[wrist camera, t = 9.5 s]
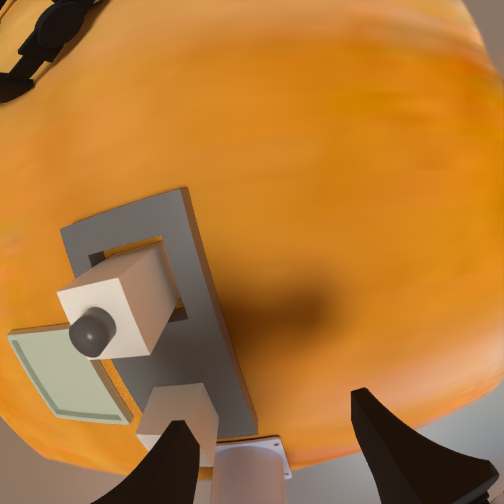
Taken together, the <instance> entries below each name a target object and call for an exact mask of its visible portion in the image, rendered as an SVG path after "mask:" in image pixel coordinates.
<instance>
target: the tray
mask: <svg viewBox="0 0 504 504" xmlns="http://www.w3.org/2000/svg"><path fill="white" fill-rule="evenodd" d="M70 326H71V325H70V323H67V324H59V325H52V326H44V327H36V328H28V329H20V330H12V331H11V332H10V333H8V334H7V335H6V337H7V339H8V341H9V343H10V345H11V347H12V348H13V350H14V352H15V354H16V356H17V358H18V360H19V361H20V363H21V365H22V367H23V368H24V370H25V372H26V373H27V375H28V377H29V378H30V380H31V382H32V383H33V385H34V386H35V388H36V389H37V391H38V392H39V394H40V395H41V397H42V398H43V400H44V401H45V403H46V404H47V405H48V407H49V408H50V410H51V411H52V412H53V414H54V415H55V416H56V417H59V418H65V419H72V420H79V421H87V422H97V423H109V424H125V425H130V424H131V421H132V419H133V417H134V416H133V415H132V413H131V412H130V410H129V409H128V407H127V406H126V404H125V403H124V401H123V400H122V398H121V396H120V395H119V393H118V392H117V390H116V388H115V387H114V385H113V383H112V382H111V380H110V378H109V376H108V375H107V373H106V371H105V369H104V368H103V366H102V364H101V362H100V360H99V359H96V360H88V359H87V357H86V356H84V355H83V354H81V353H80V352H79V351H78V350H77V349H76V348H75V347H74V346H73V344H72V342H71V340H70V337H69V328H70Z"/></svg>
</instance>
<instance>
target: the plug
mask: <svg viewBox="0 0 504 504" xmlns="http://www.w3.org/2000/svg"><path fill="white" fill-rule="evenodd" d="M57 294H58V297H59V299H60V302H61V304H62V307H63V309H64V311H65V314H66V316H67V318H68V320H69V323H70V325H71V326H70V328H69V337H70V340H71V342H72V344H73V346H74V347H75V348H76V349H77V350H78V351H79V352H80V353H81V354H83V355H84V356H86V357H87V359H88V360H96V359H112V358H124V357H136V356H146V355H150V354H151V352H152V350H153V349H154V347H155V345H156V343H157V341H158V339H159V337H160V335H161V333H162V331H163V329H164V327H165V325H166V324H167V322H168V320H169V318H170V316H171V314H172V312H173V310H174V309H175V307H176V305H177V303H178V301H179V299H180V297H181V295H180V292H179V289H178V286H177V283H176V280H175V277H174V274H173V271H172V268H171V264H170V261H169V258H168V255H167V251H166V248H165V245H164V241H162V242H158V243H154V244H150V245H146V246H142V247H138V248H135V249H131V250H127V251H123V252H120V253H116V254H113V255H111V256H110V257H108V258H107V259H105V260H104V261H102V262H100V263H99V264H97V265H96V266H94V267H93V268H91V269H90V270H88V271H87V272H85V273H84V274H82V275H81V276H79V277H78V278H76V279H75V280H73V281H72V282H70V283H69V284H67V285H66V286H64V287H63V288H62V289H60V290H59V291H57Z"/></svg>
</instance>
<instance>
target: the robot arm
mask: <svg viewBox="0 0 504 504" xmlns="http://www.w3.org/2000/svg"><path fill="white" fill-rule="evenodd" d="M351 421H352V424H353V428H354V431H355V434H356V438H357V440H358V443H359V445H360V447H361V450H362V452H363V454H364V456H365V458H366V461H367V463H368V465H369V468H370V470H371V472H372V474H373V477H374V480H375V482H376V485H377V488H378V492H379V496H380V500H381V504H504V491H503V492H502V493H501V494H500V495H498V496H497V497H496V498H494V499H493V500H492V501H491V502H490V503H489V501H488V500H487V498H489V494H488V492H487V490H488V489H489V488H490V487H491V486H492V485H493V484H494V483H495V482H496V481H497V479H498V478H499V473H498V471H497V470H496V468H495V467H494V466H493V465H492V463H491V462H490V461H488V460H483V459H478V458H474V457H471V456H467V455H464V454H461V453H458V452H455V451H453V450H450V449H448V448H446V447H443V446H441V445H439V444H437V443H435V442H433V441H431V440H429V439H427V438H426V437H424V436H422V435H421V434H419V433H418V432H416V431H415V430H413V429H412V428H410V427H409V426H407V425H406V424H405V423H403V422H402V421H401V420H400V419H398V418H397V417H396V416H395V415H394V414H392V413H391V412H390V411H389V410H388V409H387V408H386V407H385V406H383V405H382V404H381V403H380V402H379V401H378V400H377V399H376V398H375V397H374V396H373V395H372V394H371V392H370V391H369V390H368V389H367V388H365V387H364V388H360V389H357V390H354V391H351ZM199 465H200V445H199V443H198V441H197V440H196V438H195V437H194V435H193V434H192V432H191V430H190V429H189V427H188V425H187V424H186V422H185V420H172V421H171V422H170V424H169V425H168V427H167V428H166V429H165V431H164V432H163V434H162V435H161V436H160V438H159V439H158V441H157V442H156V443H155V445H154V446H153V447H152V449H151V450H150V451H149V453H148V454H147V455H146V456H145V458H144V459H143V460H142V461H141V462H140V464H139V465H138V466H137V467H136V468H135V469H134V470H133V471H132V472H131V473H130V474H129V475H128V476H127V477H126V478H125V479H124V480H123V481H122V482H121V483H120V484H119V485H117V486H116V487H115V488H113V489H112V490H111V491H109V492H108V493H107V494H105V495H104V496H102V497H101V498H99V499H98V500H96V501H94V502H92V503H91V504H193V501H194V495H195V489H196V483H197V477H198V471H199ZM290 478H292V473H291V470H290V467H289V464H288V461H287V458H286V454H285V451H284V448H283V445H282V441H281V438H280V437H269V438H263V439H256V440H248V441H239V442H229V443H216V450H215V460H214V467H213V476H212V486H211V496H210V504H287V497H286V487H285V479H290Z"/></svg>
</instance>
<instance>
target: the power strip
mask: <svg viewBox="0 0 504 504" xmlns="http://www.w3.org/2000/svg"><path fill="white" fill-rule="evenodd" d="M60 232H61V235H62V239H63V242H64V245H65V249H66V252H67V255H68V258H69V261H70V264H71V267H72V270H73V273H74V276H75V278H78V277H79V276H81V275H82V274H84V273H85V272H87V271H88V270H90V269H91V268H93V267H94V266H96V265H97V264H99V263H100V262H102V261H104V260H105V256H104V253H103V251H104V250H108V249H111V248H115V247H118V246H122V245H125V244H129V243H133V242H136V241H140V240H144V239H147V238H151V237H155V236H159V235H162V238H163V241H164V245H165V248H166V251H167V255H168V258H169V261H170V264H171V268H172V271H173V274H174V277H175V280H176V283H177V286H178V289H179V292H180V295H181V298H182V301H183V304H184V308H179V309H174V310H173V312H172V314H171V316H170V318H169V320H168V322H167V324H166V325H165V327H164V329H163V331H162V333H161V335H160V337H159V339H158V341H157V343H156V345H155V347H154V349H153V350H152V352H151V354H150V355H146V356H136V357H124V358H112V359H111V360H112V362H113V364H114V366H115V368H116V369H117V371H118V373H119V375H120V377H121V378H122V380H123V382H124V384H125V385H126V387H127V389H128V390H129V392H130V394H131V395H132V397H133V399H134V400H135V402H136V404H137V405H138V407H139V408H140V410H141V411H142V413H143V415H142V418H141V420H140V423H139V426H138V428H137V431H136V433H135V435H136V436H137V437H138V439H139V440H140V441H141V443H142V444H143V445H144V446H145V448H146V449H147V450H148V451H150V450H151V449H152V447H153V446H154V445H155V443H156V442H157V441H158V439H159V438H160V436H161V435H162V434H163V432H164V431H165V429H166V428H167V427H168V425H169V424H170V422H171V421H172V420H185V422H186V424H187V425H188V427H189V429H190V430H191V432H192V434H193V435H194V437H195V438H196V440H197V441H198V443H199V445H200V465H199V467H214V460H215V450H216V441H217V439H225V438H235V437H244V436H252V435H258V419H257V416H256V413H255V410H254V407H253V405H252V402H251V399H250V396H249V393H248V390H247V387H246V385H245V382H244V379H243V376H242V373H241V370H240V367H239V364H238V361H237V358H236V355H235V352H234V349H233V345H232V342H231V339H230V336H229V333H228V330H227V327H226V323H225V320H224V317H223V314H222V310H221V307H220V304H219V300H218V297H217V294H216V290H215V287H214V284H213V280H212V277H211V273H210V270H209V266H208V263H207V259H206V255H205V252H204V248H203V245H202V241H201V237H200V234H199V230H198V226H197V222H196V218H195V215H194V211H193V207H192V203H191V199H190V195H189V191H188V187H186V188H180V189H177V190H173V191H170V192H166V193H163V194H159V195H156V196H153V197H150V198H146V199H143V200H140V201H137V202H134V203H131V204H128V205H125V206H122V207H119V208H116V209H113V210H110V211H107V212H104V213H101V214H98V215H95V216H93V217H90V218H87V219H85V220H82V221H79V222H76V223H74V224H71V225H69V226H66V227H64V228H61V229H60Z"/></svg>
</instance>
